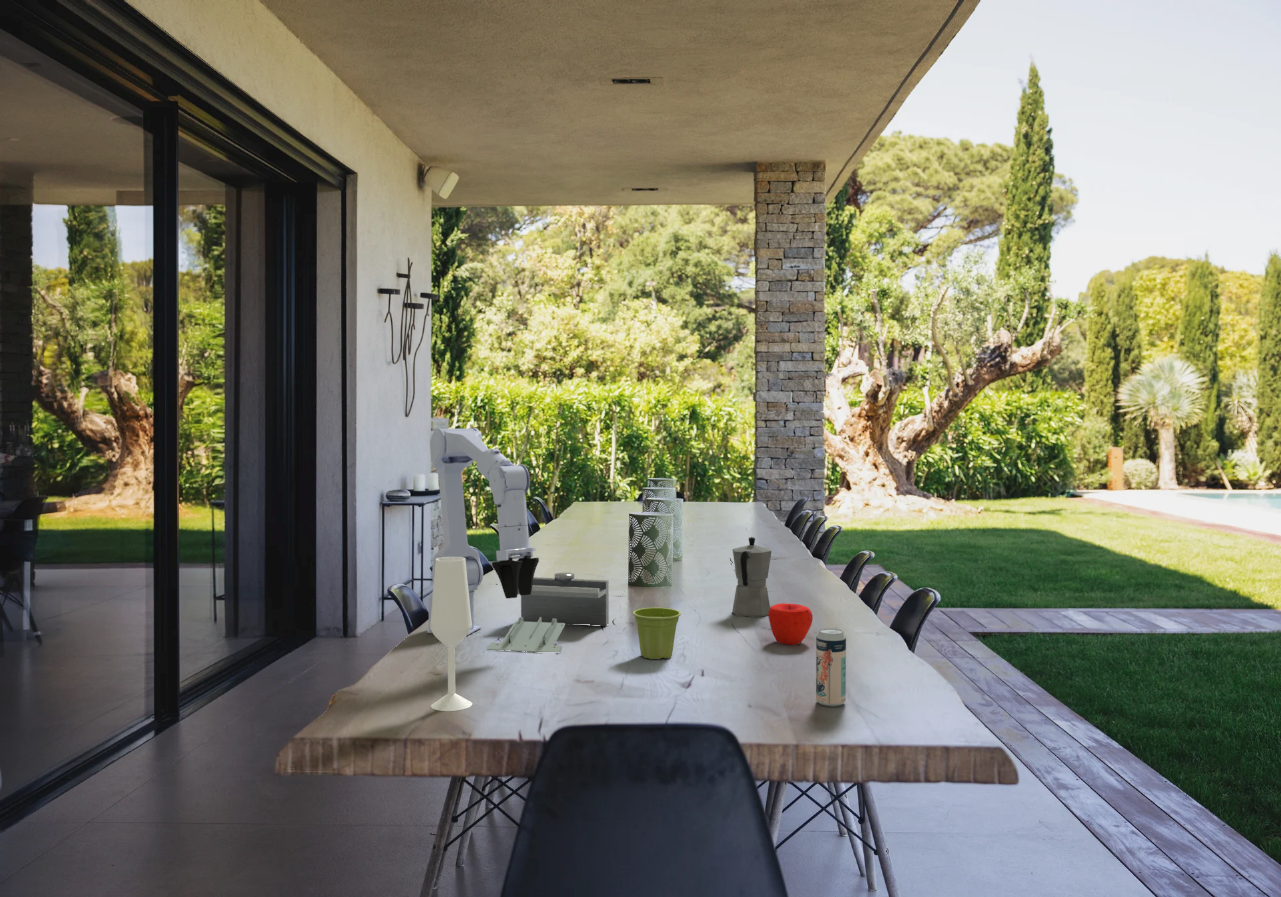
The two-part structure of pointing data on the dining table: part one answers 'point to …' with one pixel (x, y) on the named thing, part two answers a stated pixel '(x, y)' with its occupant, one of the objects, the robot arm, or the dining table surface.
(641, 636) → the plant pot
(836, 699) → the beer can
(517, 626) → the metal bracket
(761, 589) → the coffeepot
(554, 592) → the stand
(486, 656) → the dining table surface
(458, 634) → the champagne flute
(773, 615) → the apple
